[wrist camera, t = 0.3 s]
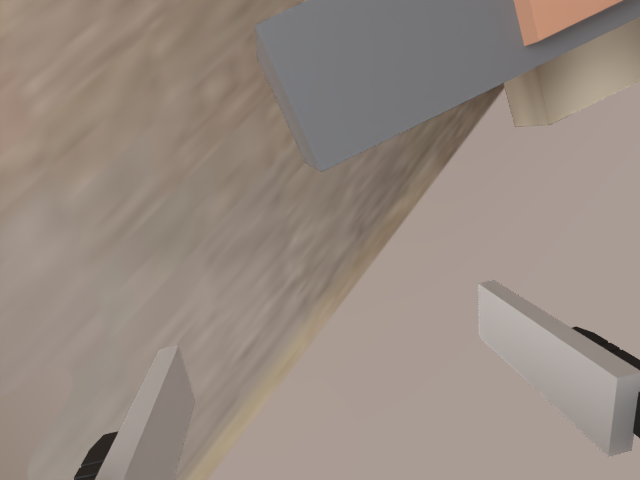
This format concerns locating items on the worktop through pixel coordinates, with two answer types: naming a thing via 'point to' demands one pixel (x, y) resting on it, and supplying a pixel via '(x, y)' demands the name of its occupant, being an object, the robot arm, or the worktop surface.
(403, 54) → the grey stepped block
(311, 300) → the worktop surface
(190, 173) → the worktop surface
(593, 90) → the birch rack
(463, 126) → the worktop surface
